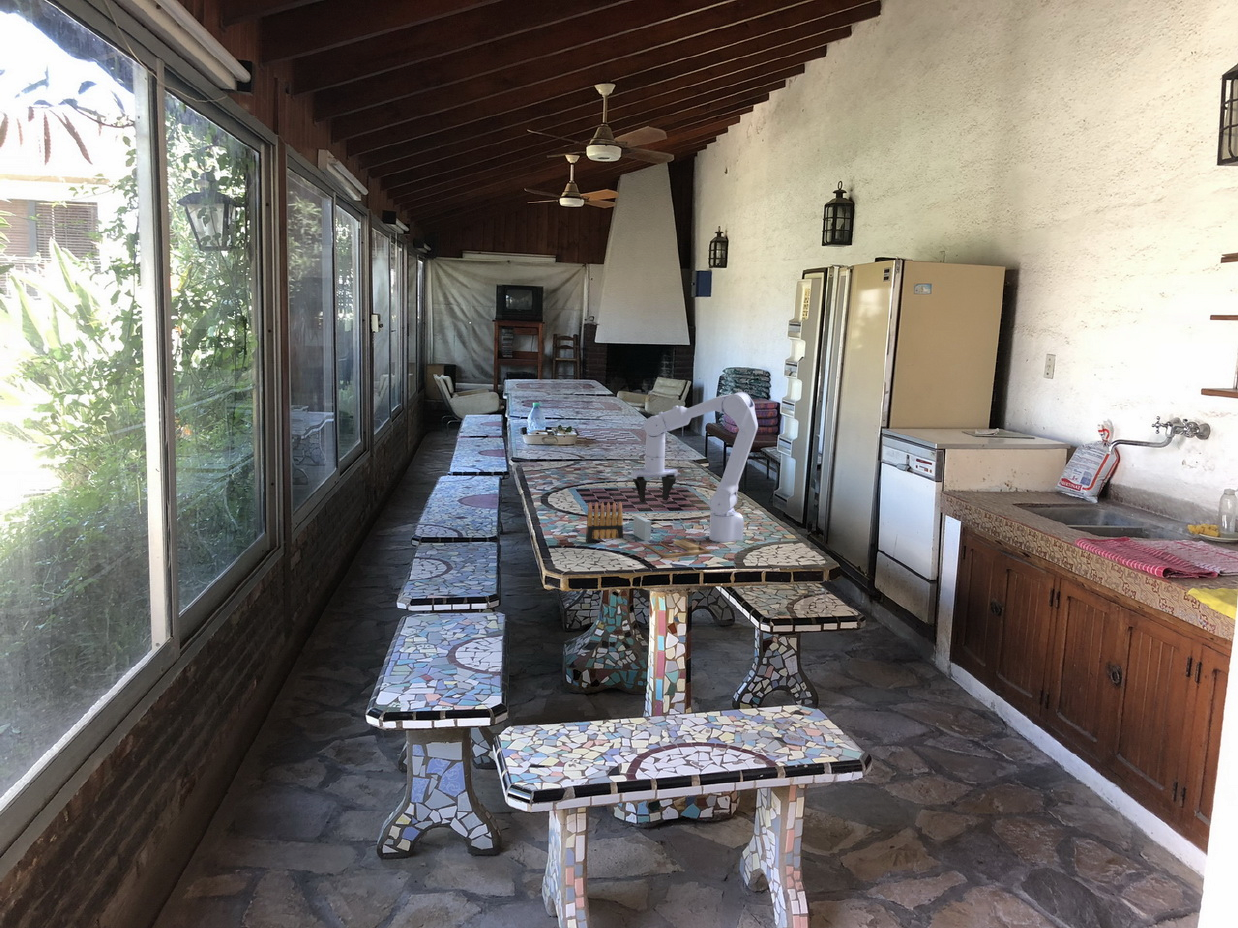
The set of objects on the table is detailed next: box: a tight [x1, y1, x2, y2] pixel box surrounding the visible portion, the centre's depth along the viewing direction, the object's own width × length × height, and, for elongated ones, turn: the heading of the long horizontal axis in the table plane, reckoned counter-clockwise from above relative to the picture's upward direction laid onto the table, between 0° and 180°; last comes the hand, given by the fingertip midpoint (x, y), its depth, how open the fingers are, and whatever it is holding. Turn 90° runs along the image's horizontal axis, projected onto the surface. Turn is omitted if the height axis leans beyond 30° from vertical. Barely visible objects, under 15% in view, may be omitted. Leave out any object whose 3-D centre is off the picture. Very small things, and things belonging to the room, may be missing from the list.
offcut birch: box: [680, 547, 701, 552], centre depth 243 cm, size 3×10×1 cm, turn 24°
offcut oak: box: [673, 539, 699, 552], centre depth 243 cm, size 3×8×1 cm, turn 28°
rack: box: [643, 538, 711, 559], centre depth 240 cm, size 14×14×2 cm
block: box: [632, 514, 652, 542], centre depth 251 cm, size 2×8×7 cm, turn 24°
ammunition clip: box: [585, 501, 624, 545], centre depth 249 cm, size 11×2×12 cm, turn 103°
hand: (653, 500), depth 258 cm, fingers open, 7 cm apart
